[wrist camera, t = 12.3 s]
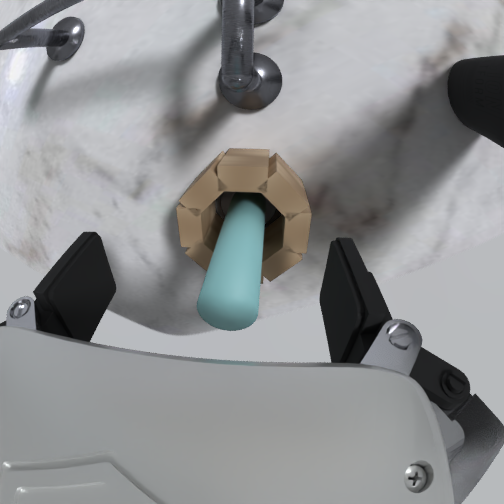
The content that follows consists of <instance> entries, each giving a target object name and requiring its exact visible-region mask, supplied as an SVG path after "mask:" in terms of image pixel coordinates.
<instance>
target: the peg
mask: <svg viewBox="0 0 504 504" xmlns="http://www.w3.org/2000/svg"><path fill="white" fill-rule="evenodd" d="M221 206H222V210H223V212H224V214H225V216H226V217H225V220H224V223H223V226H222V228H221V231H220V234H219V237H218V240H217V243H216V246H215V249H214V252H213V255H212V258H211V261H210V264H209V267H208V270H207V273H206V276H205V279H204V283H203V286H202V289H201V292H200V295H199V298H198V301H197V310H198V313H199V315H200V316H201V317H202V319H203V320H204V321H205V322H207V323H208V324H210V325H211V326H213V327H216V328H218V329H222V330H228V331H236V330H241V329H244V328H247V327H249V326H250V325H252V324H253V323H254V322H255V320H256V319H257V316H258V307H259V294H260V281H261V268H262V254H263V241H264V226H265V223H267V222H268V221H269V220H270V219H271V218H272V216H273V215H274V213H275V210H276V207H275V206H274V205H273V204H272V203H271V202H270V201H269V200H268V199H267V198H266V197H265V196H264V195H263V194H262V193H259V192H231V191H224V192H223V194H222V198H221Z"/></svg>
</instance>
